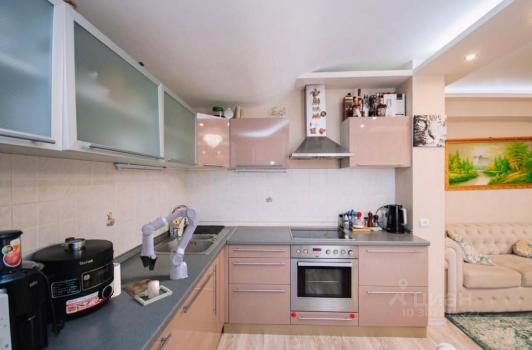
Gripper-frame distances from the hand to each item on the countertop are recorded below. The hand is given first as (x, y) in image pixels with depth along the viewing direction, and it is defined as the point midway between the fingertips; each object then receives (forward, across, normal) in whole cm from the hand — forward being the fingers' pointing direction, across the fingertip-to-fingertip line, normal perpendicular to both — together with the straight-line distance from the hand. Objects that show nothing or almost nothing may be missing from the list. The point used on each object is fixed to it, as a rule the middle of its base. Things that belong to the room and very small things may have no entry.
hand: (148, 268), depth 136 cm
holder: (+9, +4, -5) cm, 11 cm away
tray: (+9, +17, -5) cm, 20 cm away
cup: (+10, -3, -18) cm, 21 cm away
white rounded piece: (+8, +17, -5) cm, 20 cm away
